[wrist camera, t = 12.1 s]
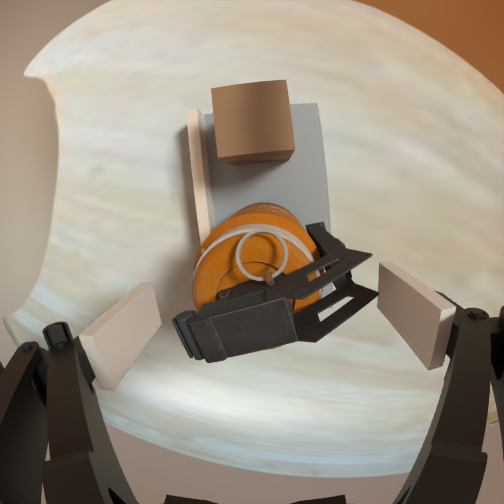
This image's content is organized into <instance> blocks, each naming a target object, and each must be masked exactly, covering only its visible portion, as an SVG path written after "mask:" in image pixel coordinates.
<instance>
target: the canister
mask: <svg viewBox="0 0 504 504" xmlns="http://www.w3.org/2000/svg"><path fill="white" fill-rule="evenodd" d="M305 226H306V230H307V232H306V231H305V229H304V228H303V226H302V225H301V224H300V222H299V221H298V220H297V218H296V217H295V216H294V215H293V214H292V213H291V212H290V211H289V210H287V209H285V208H284V207H282V206H279V205H277V204H273V203H265V202H262V203H255V204H251V205H248V206H246V207H244V208H242V209H241V210H239V211H238V212H237V213H235V214H234V215H233V216H231V217H230V218H229V219H227V220H226V221H225V222H223V223H222V224H221V225H219V226H218V227H217V228H216V229H215V230H214V231H212V232H211V233H210V234H209V236H208V237H207V238H206V239H205V241H204V242H203V244H202V245H201V247H200V249H199V251H198V254H197V257H196V260H195V266H194V274H193V280H192V294H193V300H194V304H195V307H196V309H197V312H198V314H197V313H196V311H193V310H192V311H185V312H182V313H180V314H178V315H177V316H176V317H175V318H174V319H173V320H172V323H173V325H174V327H175V329H176V331H177V333H178V335H179V337H180V339H181V342H182V344H183V346H184V348H185V350H186V351H187V353H188V355H189V357H190V358H193V356H194V358H195V359H196V360H202V359H205V360H206V362H207V363H213V362H218V361H223V360H225V359H227V358H229V357H234V356H238V355H243V354H248V353H252V352H257V351H261V350H267V349H273V348H276V347H279V346H282V345H285V344H289V343H293V342H297V341H303V342H315V343H316V342H317V341H319V340H320V339H321V338H323V337H324V336H326V335H327V334H328V333H330V332H331V331H332V330H334V329H335V328H337V327H338V326H339V325H341V324H342V323H343V322H345V321H346V320H347V319H349V318H350V317H351V316H353V315H354V314H355V313H357V312H358V311H359V310H360V309H362V308H363V307H364V306H366V305H367V304H368V303H369V302H371V301H372V300H373V299H374V298H375V297H377V296H378V295H379V292H376V291H374V290H371V289H368V288H366V287H363V286H361V285H358V284H355V283H354V282H353V280H352V279H351V278H352V274H351V270H352V269H353V268H355V267H356V266H358V265H359V264H361V263H362V262H364V261H365V260H367V259H368V258H370V257H371V256H373V255H372V254H371V253H366V252H361V251H356V250H351V249H347V248H346V247H345V245H344V244H343V243H342V242H341V241H340V240H339V239H337V238H334V237H333V236H332V235H331V234H330V233H329V232H328V231H326V227H325V224H324V221H323V222H318V223H313V224H308V225H305ZM324 269H325V270H326V272H325V273H324ZM331 282H333V284H334V286H335V287H336V290H335V291H333V292H331V293H330V294H328V295H326V296H325V297H323V298H321V296H322V291H323V287H325V286H326V285H328V284H330V283H331ZM348 296H349V297H354V298H353V299H352V300H350V301H349V302H348V303H346V304H345V305H343V306H342V307H341V308H339V309H338V310H337V311H335V312H334V313H333V314H331V315H330V316H328V317H327V318H325V319H324V320H323V321H321V322H320V320H319V317H318V313H320V312H322V311H323V310H325V309H327V308H329V307H330V306H332V305H334V304H335V303H337V302H339V301H340V300H342V299H344V298H345V297H348Z"/></svg>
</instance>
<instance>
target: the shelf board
mask: <svg viewBox="0 0 504 504" xmlns="http://www.w3.org/2000/svg"><path fill="white" fill-rule="evenodd" d="M290 111H291V118H292V126H293V133H294V142H295V151H294V153H293V154H292V156H291V158H290V159H289V161H277V162H267V163H257V164H247V165H239V166H233V165H231V164H229V163H227V162H225V161H223V160H221V159H219V158H218V155H217V145H216V135H215V125H214V114H213V113H212V114H206V115H203V114H202V113H201V112H200V111H199V110H198V109H193V110H188V111H186V113H187V129H188V140H189V151H190V161H191V169H192V178H193V187H194V196H195V204H196V212H197V220H198V227H199V237H200V244H201V245H202V244H203V242H204V241H205V239H206V238H207V237H208V236H209V234H210V233H211V232H212V231H214V230H215V229H216V228H217V227H218V226H219V225H221V224H222V223H223V222H225V221H226V220H227V219H229V218H230V217H231V216H233V215H234V214H235V213H237V212H238V211H239V210H241V209H242V208H244V207H246V206H248V205H251V204H255V203H262V202H265V203H273V204H277V205H279V206H282V207H284V208H285V209H287V210H289V211H290V212H291V213H292V214H293V215H294V216H295V217H296V218H297V220H298V221H299V222H300V224H301V225H302V226H303V228H304V229H305V231H306V232H307V230H306V226H305V225H308V224H313V223H318V222H323V221H324V224H325V227H326V231H328V232H329V233H330V234H331V226H330V210H329V197H328V185H327V174H326V164H325V155H324V147H323V139H322V131H321V124H320V117H319V110H318V104H317V103H309V104H290ZM325 272H326V270H325V269H324V273H325ZM331 292H333V282H331V283H330V284H328V285H326V286H325V287H323V291H322V296H321V298H323V297H325V296H326V295H328V294H330V293H331ZM329 308H333V305H332V306H330V307H329Z"/></svg>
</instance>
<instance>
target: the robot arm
mask: <svg viewBox="0 0 504 504" xmlns="http://www.w3.org/2000/svg"><path fill="white" fill-rule="evenodd" d="M378 292H379V295H378V303H377V307H378V308H379V310H380V311H381V312H382V313H383V314H384V316H385V317H386V318H387V319H388V320H389V322H390V323H391V324H392V325H393V326H394V328H395V329H396V330H397V331H398V333H399V334H400V335H401V336H402V338H403V339H404V340H405V341H406V343H407V344H408V345H409V346H410V348H411V349H412V350H413V351H414V353H415V354H416V355H417V357H418V358H419V359H420V360H421V362H422V363H423V364H424V366H425V367H426V368H427V370H432V369H435V368H438V367H441V366H443V362H444V359H445V355H446V354H447V355H448V356H449V358H450V362H449V366H448V369H447V372H446V375H445V378H444V380H445V381H444V385H443V389H442V392H441V395H440V399H439V402H438V405H437V408H436V411H435V414H434V417H433V420H432V423H431V425H430V428H429V431H428V433H427V436H426V438H425V441H424V443H423V446H422V448H421V450H420V453H419V455H418V457H417V459H416V462H415V464H414V466H413V468H412V470H411V472H410V474H409V476H408V478H407V480H406V482H405V484H404V486H403V487H402V489H401V491H400V493H399V494H398V496H397V498H396V499H395V501H394V502H393V504H475V503H476V500H477V497H478V494H479V490H480V487H481V484H482V480H483V476H484V472H485V468H486V464H487V457H488V456H487V453H485V452H481V450H482V444H483V438H484V433H485V428H486V421H487V414H488V405H489V394H490V381H491V385H492V389H493V393H494V397H495V402H496V407H497V412H498V418H499V424H500V430H501V438H502V446H503V458H504V306H503V307H502V308H501V310H500V315H499V317H493V318H489V315H488V313H487V312H485V311H484V310H481V309H478V308H467V309H463V308H462V307H461V306H459V305H458V304H456V303H455V302H454V301H452V300H451V299H449V298H448V297H447V296H445V295H444V294H442V293H440V292H437V291H435V290H432V289H431V288H430V287H428V286H427V285H425V284H424V283H422V282H421V281H419V280H418V279H417V278H415V277H414V276H412V275H411V274H409V273H408V272H406V271H405V270H403V269H402V268H400V267H399V266H397V265H396V264H394V263H393V262H391V261H389V262H380V263H379V284H378ZM161 325H162V322H161V318H160V314H159V310H158V305H157V301H156V297H155V292H154V288H153V283H152V282H146V283H140V284H139V285H138V286H137V287H135V288H134V289H133V290H132V291H130V292H129V293H128V294H127V295H125V296H124V297H123V298H122V299H120V300H119V301H118V302H117V303H116V304H114V305H113V306H112V307H111V308H109V309H108V310H107V311H106V312H105V313H103V314H102V315H101V316H100V317H99V318H97V319H96V320H95V321H94V322H93V323H92V324H90V325H89V326H88V327H87V328H86V329H84V330H83V331H82V332H81V333H80V334H79V335H78V336H77V337H76V338H75V339H73V337H72V335H71V332H70V329H69V326H68V324H67V322H56V323H53V324H50V325H48V326H46V327H45V328H44V329H43V331H42V332H43V335H44V337H45V340H46V342H47V345H48V347H49V351H45V350H44V349H42V348H40V347H39V344H38V343H37V342H35V341H33V342H25V343H23V344H22V345H21V346H20V347H19V348H18V349H17V350H16V352H15V354H14V355H13V357H12V358H11V360H10V361H9V363H8V364H7V366H6V368H5V369H4V367H3V365H2V363H1V362H0V504H41V493H42V482H43V487H44V493H45V498H46V503H47V504H139V503H138V502H137V500H136V498H135V497H134V495H133V493H132V491H131V488H130V487H129V484H128V482H127V480H126V478H125V476H124V473H123V471H122V469H121V466H120V464H119V462H118V459H117V457H116V454H115V452H114V449H113V446H112V444H111V441H110V438H109V435H108V433H107V430H106V426H105V423H104V420H103V417H102V414H101V410H100V407H99V403H98V400H97V396H96V392H95V389H94V387H93V385H92V381H93V380H94V379H95V377H96V380H97V382H98V384H99V386H100V388H103V389H109V390H114V389H115V388H116V386H117V385H118V384H119V382H120V381H121V379H122V378H123V377H124V375H125V374H126V372H127V371H128V370H129V368H130V367H131V365H132V364H133V363H134V361H135V360H136V358H137V357H138V356H139V354H140V353H141V352H142V350H143V349H144V348H145V346H146V345H147V343H148V342H149V341H150V339H151V338H152V337H153V335H154V334H155V333H156V331H157V330H158V329H159V327H160V326H161ZM48 441H49V450H50V459H51V460H49V461H45V458H46V451H47V446H48ZM164 504H217V503H214V502H210V501H207V500H198V499H191V498H184V497H177V496H172V495H166V499H165V502H164ZM291 504H346V499H345V495H340V496H334V497H328V498H321V499H313V500H304V501H298V502H295V503H291Z"/></svg>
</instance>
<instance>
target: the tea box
mask: <svg viewBox="0 0 504 504" xmlns="http://www.w3.org/2000/svg"><path fill="white" fill-rule="evenodd" d="M211 92H212V103H213V114H214V125H215V135H216V145H217V155H218V158H219V159H221V160H223V161H225V162H227V163H229V164H231V165H233V166H239V165H247V164H257V163H267V162H277V161H289V159H290V158H291V156H292V154H293V153H294V151H295V142H294V133H293V126H292V118H291V111H290V104H289V97H288V90H287V83H286V80H274V81H263V82H253V83H245V84H237V85H230V86H224V87H218V88H212V89H211Z"/></svg>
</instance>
